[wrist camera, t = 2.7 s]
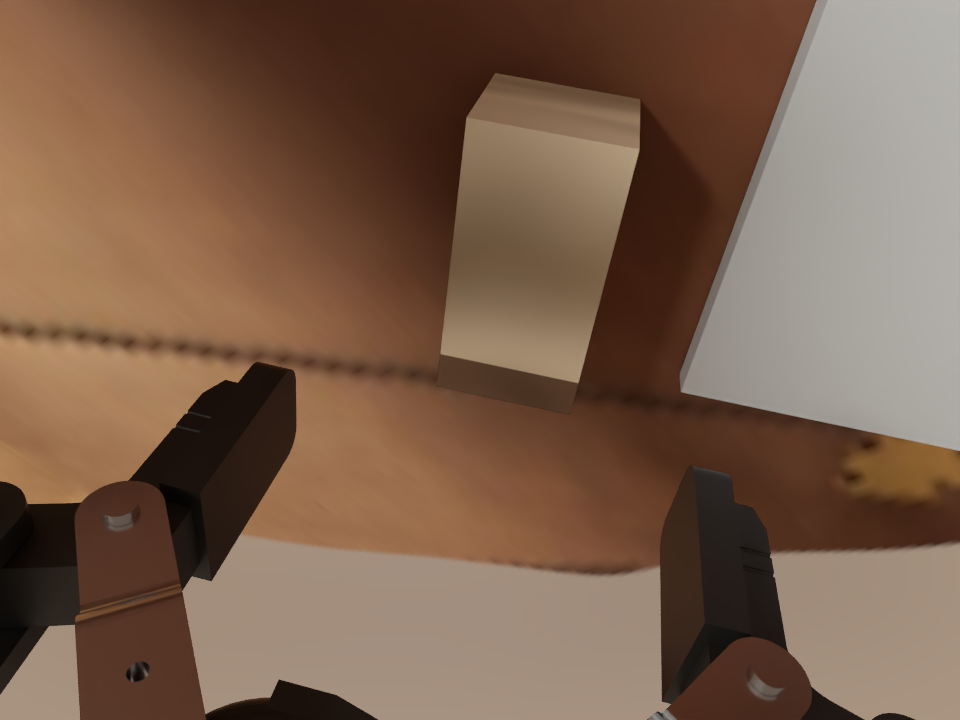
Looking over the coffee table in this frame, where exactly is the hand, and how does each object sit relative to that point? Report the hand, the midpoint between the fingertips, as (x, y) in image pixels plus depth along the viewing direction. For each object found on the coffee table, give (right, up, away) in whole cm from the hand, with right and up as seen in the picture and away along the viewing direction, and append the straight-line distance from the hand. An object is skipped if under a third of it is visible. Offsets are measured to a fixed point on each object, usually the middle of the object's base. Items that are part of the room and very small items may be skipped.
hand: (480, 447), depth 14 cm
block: (+2, +6, +7) cm, 10 cm away
